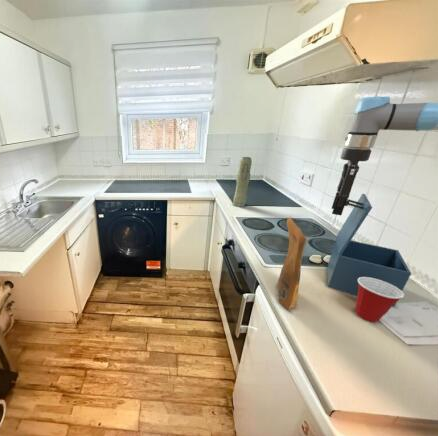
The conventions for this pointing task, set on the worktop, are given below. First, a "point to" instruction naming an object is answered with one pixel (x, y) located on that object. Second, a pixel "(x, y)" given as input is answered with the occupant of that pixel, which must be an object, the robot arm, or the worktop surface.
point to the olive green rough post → (242, 182)
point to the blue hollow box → (365, 266)
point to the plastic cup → (375, 298)
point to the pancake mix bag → (291, 267)
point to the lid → (353, 221)
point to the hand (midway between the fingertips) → (336, 211)
